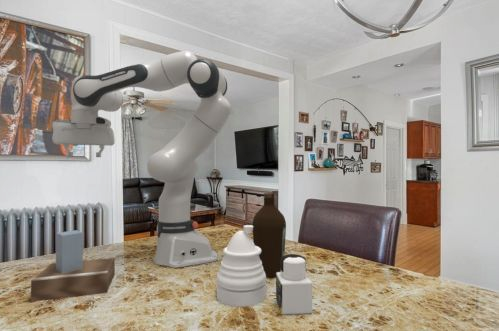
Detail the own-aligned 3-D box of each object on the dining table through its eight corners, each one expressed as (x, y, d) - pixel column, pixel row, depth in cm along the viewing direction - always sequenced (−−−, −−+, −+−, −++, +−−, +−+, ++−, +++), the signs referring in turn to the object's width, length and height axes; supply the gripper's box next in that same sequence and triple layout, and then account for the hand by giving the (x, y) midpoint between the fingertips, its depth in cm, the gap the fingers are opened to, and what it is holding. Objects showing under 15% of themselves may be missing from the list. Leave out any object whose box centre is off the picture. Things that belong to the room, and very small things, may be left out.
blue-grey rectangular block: (76, 264, 83) (76, 230, 83) (82, 268, 80) (82, 232, 80) (56, 269, 79) (56, 233, 79) (62, 273, 76) (62, 235, 76)
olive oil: (253, 278, 86) (253, 194, 86) (251, 266, 96) (251, 191, 96) (288, 278, 86) (288, 194, 86) (283, 266, 97) (283, 191, 97)
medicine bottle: (275, 300, 71) (275, 252, 72) (304, 299, 72) (303, 251, 72) (281, 315, 64) (281, 261, 64) (312, 313, 65) (312, 260, 65)
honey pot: (271, 288, 79) (271, 222, 79) (257, 310, 66) (257, 232, 67) (228, 282, 83) (228, 220, 83) (207, 302, 71) (207, 228, 71)
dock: (114, 274, 89) (114, 257, 89) (106, 292, 76) (107, 272, 76) (51, 280, 84) (51, 262, 84) (30, 301, 71) (31, 280, 71)
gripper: (49, 117, 102) (49, 156, 101) (112, 120, 108) (112, 157, 108) (55, 120, 108) (55, 157, 107) (115, 122, 114) (115, 157, 114)
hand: (84, 157), depth 108 cm, fingers open, 8 cm apart
